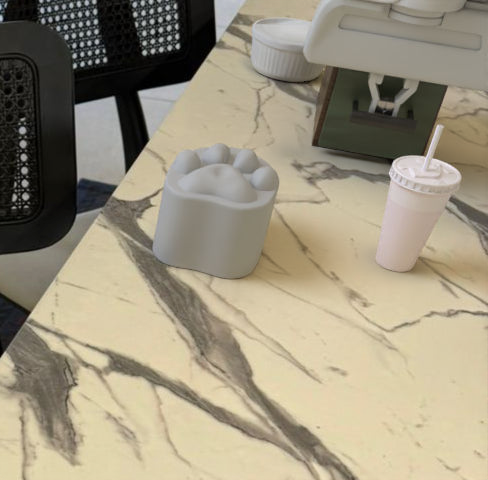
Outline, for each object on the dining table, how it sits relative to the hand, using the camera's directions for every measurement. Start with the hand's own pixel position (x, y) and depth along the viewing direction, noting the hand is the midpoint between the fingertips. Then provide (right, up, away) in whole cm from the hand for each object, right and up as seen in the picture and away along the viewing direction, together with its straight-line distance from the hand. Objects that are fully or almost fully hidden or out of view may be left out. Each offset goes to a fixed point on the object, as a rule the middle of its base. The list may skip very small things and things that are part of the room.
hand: (381, 114), depth 113 cm
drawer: (+2, 0, +9) cm, 9 cm away
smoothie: (-3, -19, -11) cm, 22 cm away
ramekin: (-4, +15, +27) cm, 31 cm away
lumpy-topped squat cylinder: (-21, -17, -11) cm, 29 cm away
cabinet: (+3, +3, +13) cm, 14 cm away
